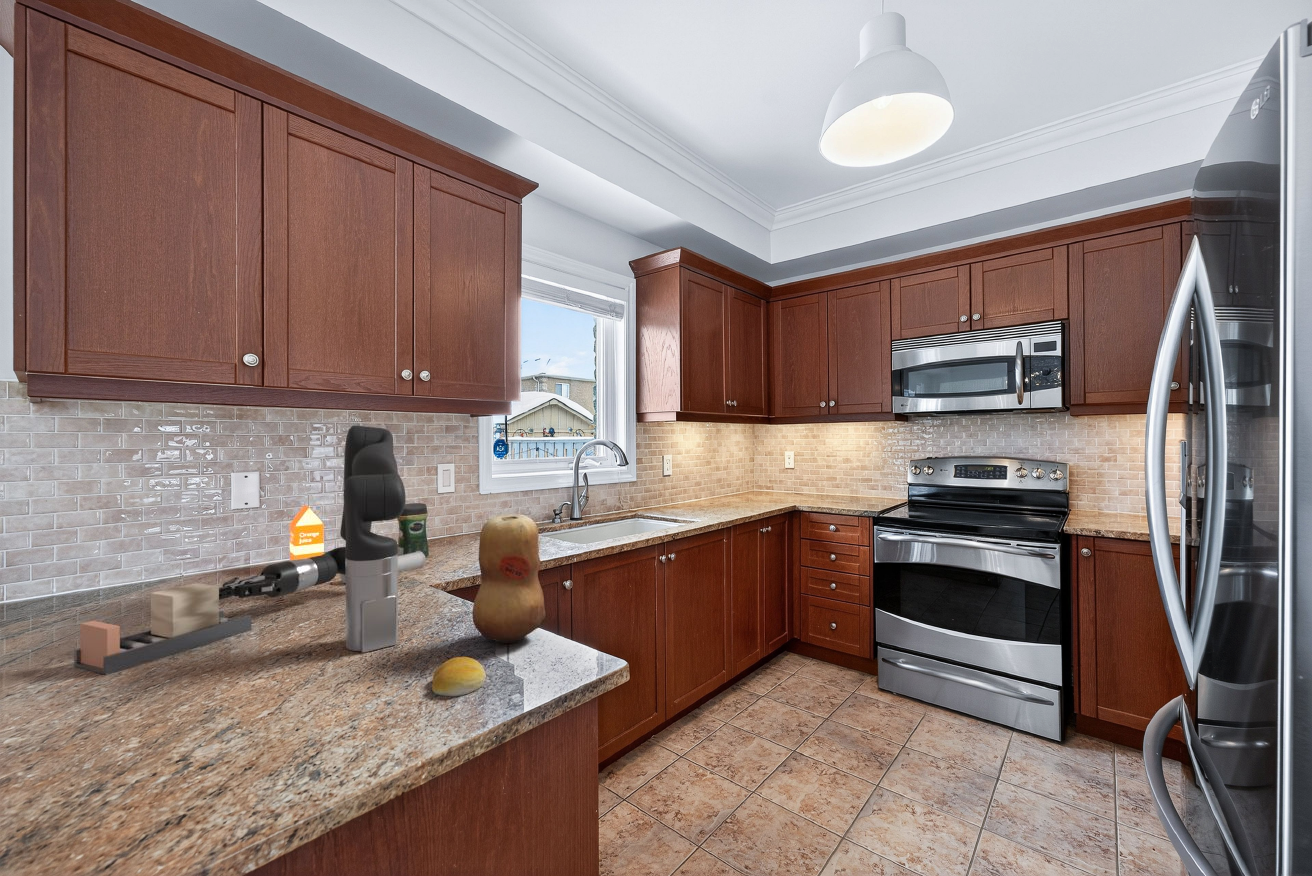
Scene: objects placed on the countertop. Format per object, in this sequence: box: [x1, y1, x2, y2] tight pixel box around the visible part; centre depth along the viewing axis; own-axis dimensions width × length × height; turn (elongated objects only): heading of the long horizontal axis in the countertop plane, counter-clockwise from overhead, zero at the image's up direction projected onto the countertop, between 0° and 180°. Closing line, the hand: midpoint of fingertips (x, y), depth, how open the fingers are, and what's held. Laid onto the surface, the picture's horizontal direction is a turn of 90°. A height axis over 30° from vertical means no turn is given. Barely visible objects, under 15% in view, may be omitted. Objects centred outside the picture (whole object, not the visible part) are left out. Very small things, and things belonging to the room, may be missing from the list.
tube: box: [339, 551, 426, 584], centre depth 164 cm, size 5×5×25 cm
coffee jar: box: [396, 502, 430, 558], centre depth 188 cm, size 10×8×19 cm
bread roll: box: [431, 656, 487, 697], centre depth 91 cm, size 8×9×4 cm
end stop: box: [80, 620, 121, 668], centre depth 98 cm, size 2×8×7 cm, turn 69°
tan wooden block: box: [150, 582, 220, 638], centre depth 111 cm, size 8×7×8 cm
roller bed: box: [73, 610, 253, 675], centre depth 108 cm, size 24×10×3 cm, turn 159°
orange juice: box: [289, 504, 325, 561], centre depth 171 cm, size 8×9×20 cm
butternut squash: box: [472, 513, 546, 644], centre depth 110 cm, size 14×13×25 cm
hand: (208, 596), depth 115 cm, fingers closed
